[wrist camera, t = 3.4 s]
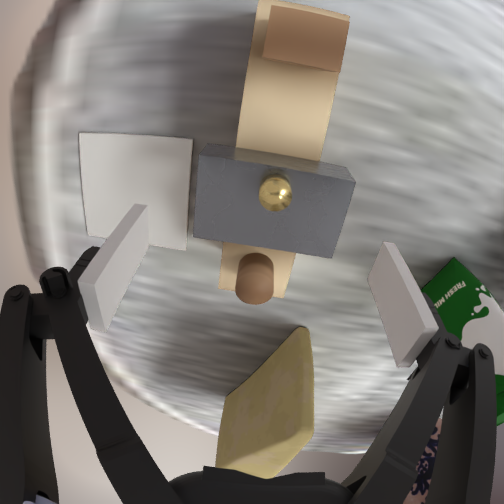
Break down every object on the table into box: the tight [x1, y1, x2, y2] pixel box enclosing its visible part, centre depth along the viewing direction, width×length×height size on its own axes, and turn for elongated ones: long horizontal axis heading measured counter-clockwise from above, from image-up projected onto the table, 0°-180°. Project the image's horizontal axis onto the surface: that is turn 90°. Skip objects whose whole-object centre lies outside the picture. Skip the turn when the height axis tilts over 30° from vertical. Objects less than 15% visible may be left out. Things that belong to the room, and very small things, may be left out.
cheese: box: [215, 327, 314, 479], centre depth 39 cm, size 22×10×15 cm, turn 161°
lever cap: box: [193, 144, 356, 258], centre depth 21 cm, size 6×10×4 cm, turn 82°
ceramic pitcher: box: [403, 418, 442, 504], centre depth 48 cm, size 18×21×25 cm
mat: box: [79, 132, 193, 251], centre depth 30 cm, size 12×12×1 cm
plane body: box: [218, 0, 350, 305], centre depth 22 cm, size 24×6×11 cm, turn 172°
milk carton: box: [420, 257, 504, 426], centre depth 26 cm, size 9×9×20 cm
